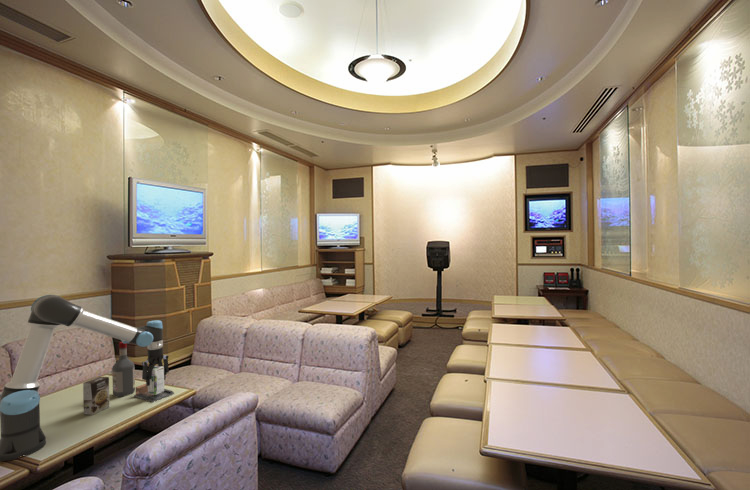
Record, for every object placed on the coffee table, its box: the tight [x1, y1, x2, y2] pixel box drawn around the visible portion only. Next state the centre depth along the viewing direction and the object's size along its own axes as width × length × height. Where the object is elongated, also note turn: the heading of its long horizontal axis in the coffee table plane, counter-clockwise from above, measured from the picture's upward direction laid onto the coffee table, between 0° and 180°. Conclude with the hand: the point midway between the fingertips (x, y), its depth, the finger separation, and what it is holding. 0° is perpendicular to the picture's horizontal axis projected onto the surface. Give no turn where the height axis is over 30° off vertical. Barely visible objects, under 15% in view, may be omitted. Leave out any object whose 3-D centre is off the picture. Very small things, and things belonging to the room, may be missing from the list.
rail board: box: [133, 383, 175, 403], centre depth 199 cm, size 12×18×5 cm, turn 63°
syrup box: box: [148, 365, 165, 395], centre depth 198 cm, size 6×6×14 cm
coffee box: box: [82, 376, 110, 416], centre depth 182 cm, size 9×6×16 cm
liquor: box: [111, 341, 136, 398], centre depth 202 cm, size 9×9×30 cm
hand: (156, 388), depth 198 cm, fingers closed on syrup box, 6 cm apart
